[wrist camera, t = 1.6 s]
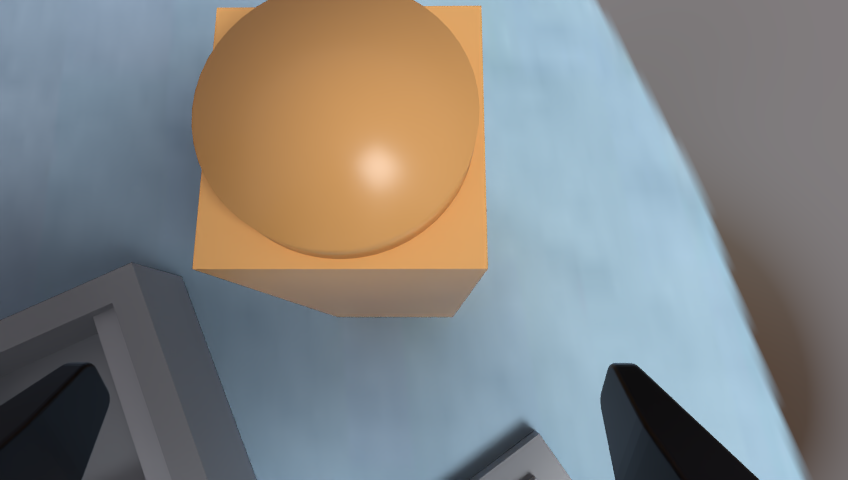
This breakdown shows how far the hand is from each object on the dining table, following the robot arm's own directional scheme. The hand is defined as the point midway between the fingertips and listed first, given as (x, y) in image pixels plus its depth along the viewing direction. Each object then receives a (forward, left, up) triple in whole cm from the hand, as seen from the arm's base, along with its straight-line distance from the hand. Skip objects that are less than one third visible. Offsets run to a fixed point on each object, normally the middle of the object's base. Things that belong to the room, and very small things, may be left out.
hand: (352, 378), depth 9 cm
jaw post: (+4, -2, -11) cm, 12 cm away
